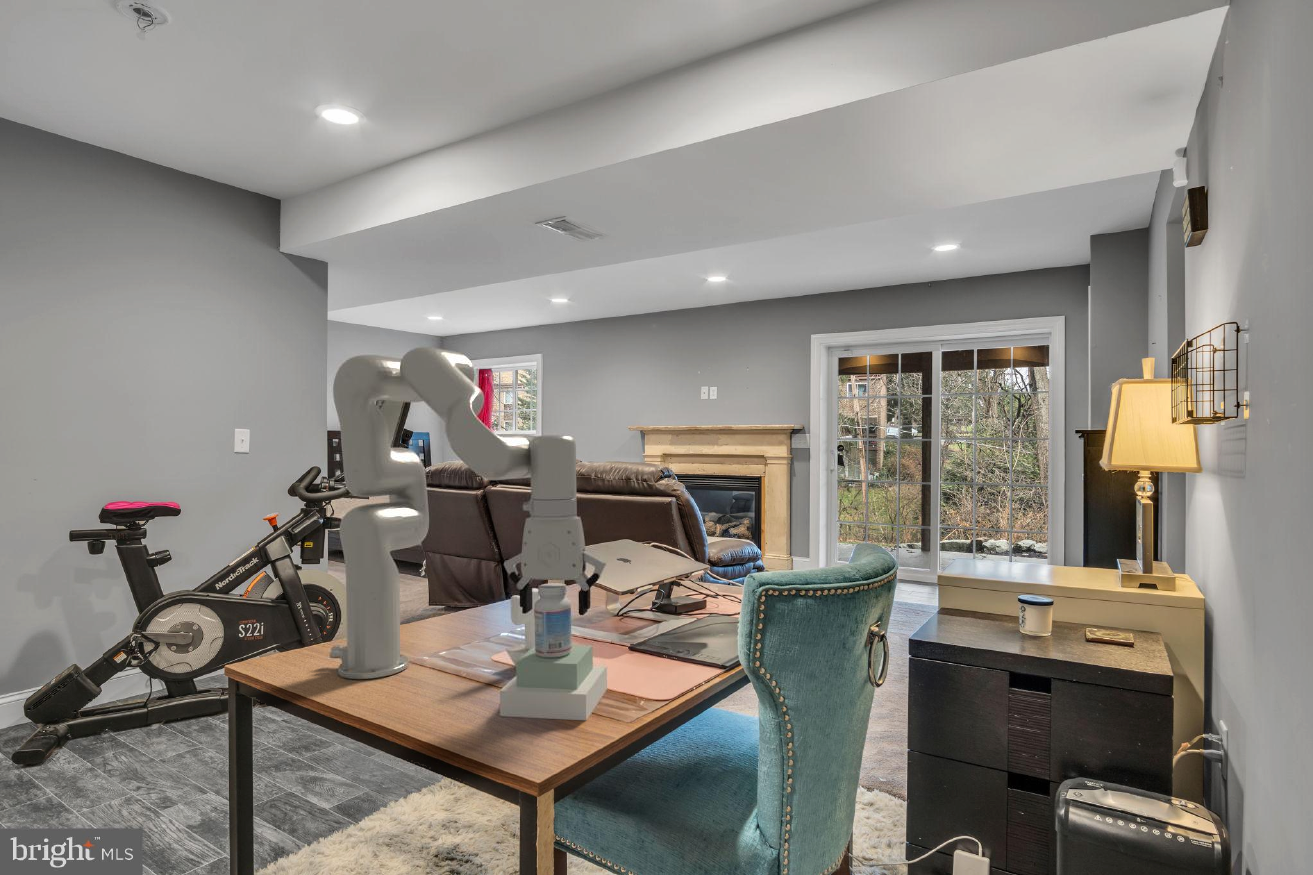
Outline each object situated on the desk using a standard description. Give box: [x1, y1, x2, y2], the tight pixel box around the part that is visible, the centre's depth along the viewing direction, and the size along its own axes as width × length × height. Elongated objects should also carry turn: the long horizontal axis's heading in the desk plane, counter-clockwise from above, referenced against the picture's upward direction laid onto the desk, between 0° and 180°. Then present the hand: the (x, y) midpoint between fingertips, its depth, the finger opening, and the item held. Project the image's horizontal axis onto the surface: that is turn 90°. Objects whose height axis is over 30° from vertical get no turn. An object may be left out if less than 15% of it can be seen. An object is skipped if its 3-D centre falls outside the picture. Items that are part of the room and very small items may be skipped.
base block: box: [499, 664, 608, 721], centre depth 116 cm, size 14×14×4 cm
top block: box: [515, 644, 594, 689], centre depth 116 cm, size 10×10×4 cm
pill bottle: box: [534, 582, 573, 658], centre depth 116 cm, size 6×6×11 cm
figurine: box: [505, 587, 540, 667], centre depth 135 cm, size 7×9×15 cm
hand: (555, 612), depth 116 cm, fingers open, 9 cm apart
